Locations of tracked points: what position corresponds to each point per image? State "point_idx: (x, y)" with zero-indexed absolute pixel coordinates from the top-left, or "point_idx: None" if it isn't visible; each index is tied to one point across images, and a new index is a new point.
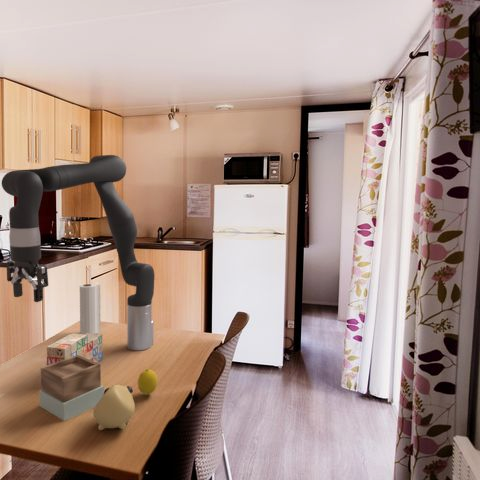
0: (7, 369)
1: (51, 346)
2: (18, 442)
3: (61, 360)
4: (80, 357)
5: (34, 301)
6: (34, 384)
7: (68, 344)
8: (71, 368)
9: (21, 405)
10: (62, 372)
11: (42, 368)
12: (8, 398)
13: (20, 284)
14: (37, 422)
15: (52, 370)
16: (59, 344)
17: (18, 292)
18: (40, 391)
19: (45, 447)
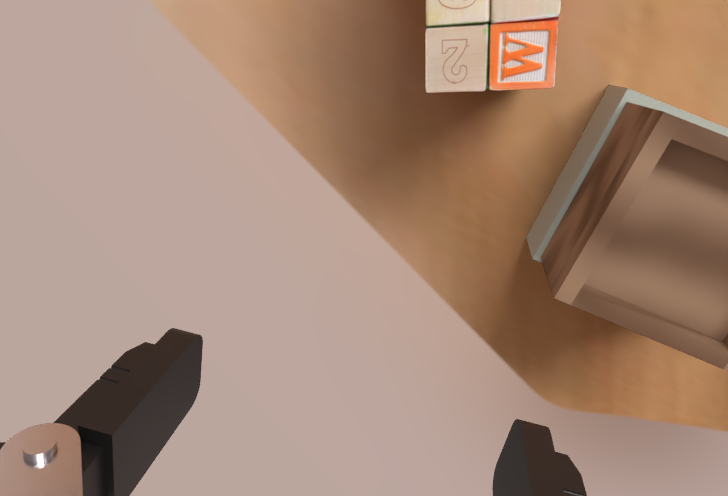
0: (180, 17)
1: (450, 81)
2: (592, 406)
3: (609, 204)
4: (703, 141)
5: (494, 478)
6: (390, 103)
7: (539, 18)
8: (678, 216)
9: (458, 247)
10: (654, 264)
11: (566, 302)
12: (379, 218)
13: (118, 448)
14: (583, 320)
15: (632, 315)
16: (478, 36)
17: (176, 400)
18: (537, 259)
19: (688, 415)
